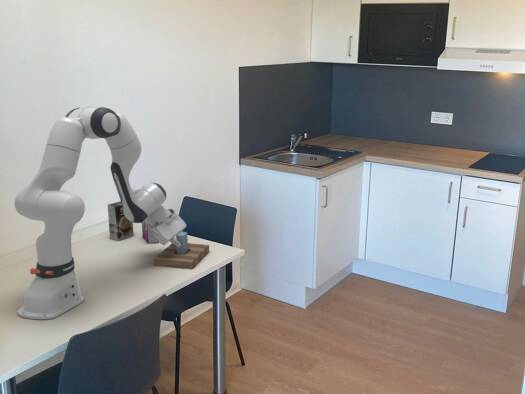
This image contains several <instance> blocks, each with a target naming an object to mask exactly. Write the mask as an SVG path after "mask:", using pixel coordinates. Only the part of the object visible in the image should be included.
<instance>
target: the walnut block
mask: <svg viewBox="0 0 525 394" xmlns="http://www.w3.org/2000/svg"><path fill="white" fill-rule="evenodd" d="M209 252H210V244H206V243H205V244H203V243H202V244H201V243H194V242H193V243H192V242H188V253H187V254H185V255H183V254H177V246H176V245H174V244H172V243H171V244H170V245H168V246H167V247H166V248H165V249H163V251H161V252H160V253H159V254H158V255H157V256H155V257H154V258H153V262H154V263H153V264H154V266H155V267H156V266H157V267H167V268H176V269H185V270H187V269H189V270H193V269H194V268H195V267H196V266H197V265H198V264H199V263H200V262H201V261H202V260H203V259H204V258H205V256H207V255H208V254H209Z"/></svg>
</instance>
